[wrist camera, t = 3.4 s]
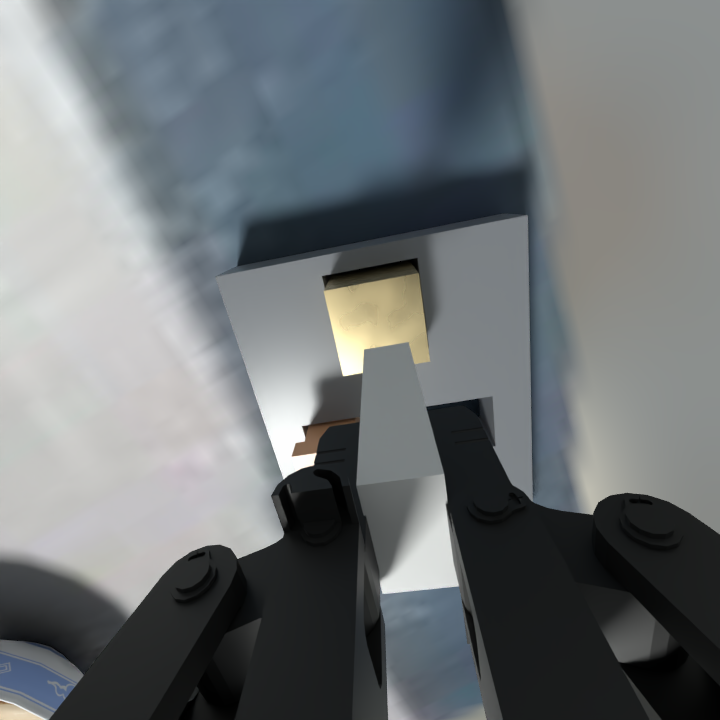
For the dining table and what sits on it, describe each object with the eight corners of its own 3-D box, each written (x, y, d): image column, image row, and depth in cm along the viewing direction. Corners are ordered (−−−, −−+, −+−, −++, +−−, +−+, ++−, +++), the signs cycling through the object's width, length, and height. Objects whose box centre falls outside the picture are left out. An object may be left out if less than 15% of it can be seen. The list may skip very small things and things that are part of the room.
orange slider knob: (309, 396, 25) (291, 456, 19) (353, 388, 25) (349, 448, 19) (326, 456, 27) (314, 528, 21) (367, 450, 27) (367, 522, 21)
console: (236, 266, 23) (215, 276, 19) (503, 213, 21) (527, 215, 18) (322, 539, 31) (317, 578, 28) (515, 514, 30) (533, 552, 27)
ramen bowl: (138, 740, 45) (92, 849, 37) (-65, 704, 42) (-158, 813, 35) (158, 610, 35) (101, 720, 28) (-101, 555, 33) (-239, 659, 26)
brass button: (331, 275, 21) (323, 290, 17) (409, 260, 20) (418, 273, 17) (347, 347, 22) (343, 376, 19) (419, 335, 22) (430, 361, 18)
